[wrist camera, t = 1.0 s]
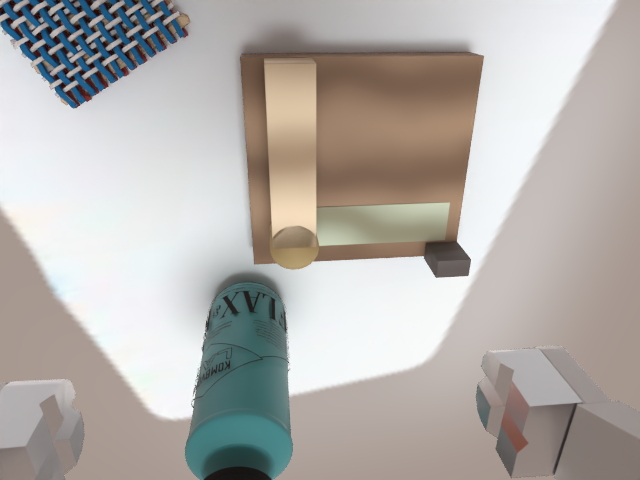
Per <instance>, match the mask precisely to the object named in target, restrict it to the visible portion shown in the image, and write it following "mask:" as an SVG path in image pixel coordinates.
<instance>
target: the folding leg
mask: <svg viewBox="0 0 640 480" xmlns="http://www.w3.org/2000/svg"><path fill="white" fill-rule="evenodd" d="M264 69H265V91H266V112H267V134H268V155H269V177H270V198H271V220H272V221H271V223H270V228H269V232H270V253H271V256H272V258H273V259H274V261H275V262H276V263H277V264H279V265H280V266H282V267H284V268H287V269H300V268H304V267H306V266H308V265H309V264H311V263H312V262H313V261H314V260H315V258H316V257H317V255H318V252H319V242H318V237H317V233H316V63H315V61H314V60H313V59H312V58H264Z"/></svg>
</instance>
